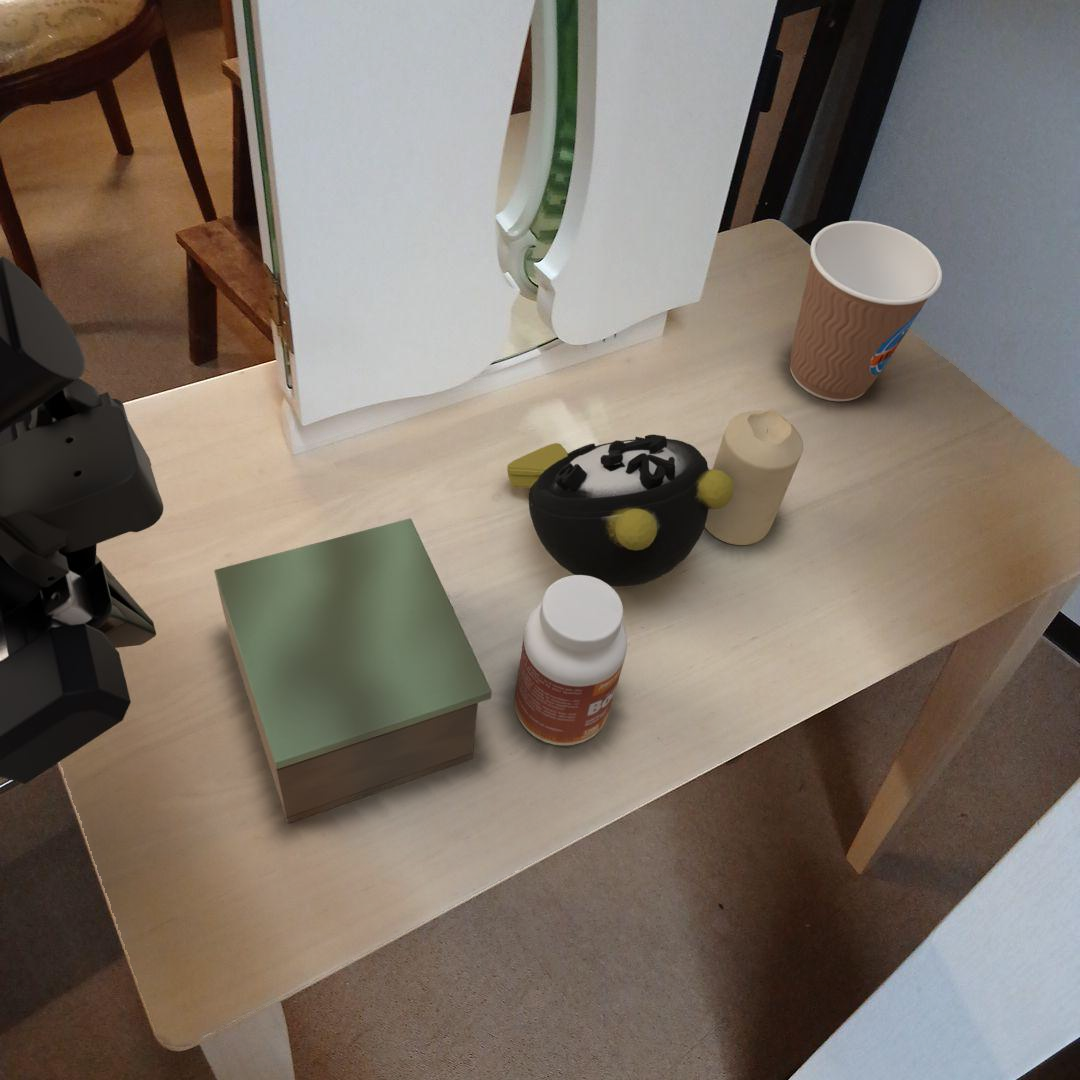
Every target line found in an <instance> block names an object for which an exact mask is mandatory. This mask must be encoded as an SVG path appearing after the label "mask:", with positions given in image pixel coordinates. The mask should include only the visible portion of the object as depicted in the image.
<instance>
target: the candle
mask: <svg viewBox="0 0 1080 1080" xmlns="http://www.w3.org/2000/svg"><path fill="white" fill-rule="evenodd" d="M719 444H720V445H719V447H718V450H717V453H716V457H715V458H714V459H715V460H714V462H713V465H712V467H711V469H716V470H721V471H723V472H725V473H726V474H727V475H728V476H729V477H730V478H731V480H732V482H733V487H734V491H733V495H732V499H731V500H730V501H729V502H728V504H727V505H725V506H723V507H721V508H719V509H709V510H708V515H707V519H706V523H705V527H704V529H705V530H706V531H708V533H709V534H711V535H712V536H713V537H715V538H716V539H718V540H720V541H722V542H724V543H727V544H729V545H736V546H748V545H754V544H756V543H758V542H760V541H762V540H763V539H764V538H765V537H766V536H767V534H769V532H770V530H771V528H772V526H773V524H774V521H775V519H776V517H777V514H778V512H779V510H780V507H781V505H782V503H783V500H784V497H785V495H786V493H787V490H788V488H789V486H790V483H791V481H792V479H793V477H794V474H795V471H796V469H797V467H798V464H799V462H800V460H801V458H802V454H803V452H804V441H803V438H802V436H801V434H800V432H799V431H798V429H797V428H796V427H795V426H794V425H793V424H792V423H791V422H790V421H789V420H788V419H786V418H785V417H783V415H781V413H780V412H779V411H778V410H776V409H768V410H750V411H745V412H742V413H739V414H736V415H735V416H734V417H732V418H731V419H730V420H729V421H728V423H727V424H726V426H725V429H724V433H723V436H722V438H721V441H720V443H719Z"/></svg>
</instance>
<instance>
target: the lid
mask: <svg viewBox="0 0 1080 1080" xmlns="http://www.w3.org/2000/svg"><path fill="white" fill-rule="evenodd" d="M214 577H215V581H216V580H217V581H216V584H217V583H218V585H217V587H218V586H219V589H220V593H221V596H222V599H223V602H224V605H225V608H226V612H227V615H228V618H229V621H230V624H231V627H232V631H233V634H234V637H235V640H236V643H237V646H238V650H239V653H240V656H241V659H242V662H243V665H244V669H245V672H246V675H247V678H248V681H249V684H250V687H251V691H252V694H253V697H254V700H255V703H256V706H257V710H258V713H259V716H260V719H261V722H262V725H263V729H264V732H265V735H266V738H267V741H268V744H269V748H270V751H271V754H272V757H273V760H274V763H275V767H276V768H277V769H279V768H282V767H285V766H289V765H292V764H295V763H298V762H301V761H304V760H307V759H310V758H313V757H316V756H319V755H322V754H325V753H328V752H331V751H334V750H337V749H340V748H343V747H346V746H349V745H352V744H355V743H358V742H361V741H364V740H367V739H370V738H373V737H376V736H379V735H382V734H385V733H388V732H391V731H394V730H397V729H400V728H403V727H406V726H409V725H412V724H415V723H419V722H422V721H425V720H428V719H431V718H434V717H437V716H440V715H443V714H446V713H449V712H452V711H455V710H458V709H461V708H464V707H467V706H470V705H473V704H476V703H478V704H479V703H482V702H486V701H488V700H491V698H492V692H493V691H492V689H491V687H490V685H489V682H488V681H487V678H486V675H485V674H484V671H483V670H482V667H481V665H480V663H479V661H478V658H477V657H476V654H475V653H474V651H473V650H474V649H473V648H472V646H471V644H470V642H469V640H468V637H467V636H466V633H465V631H464V629H463V627H462V624H461V623H460V620H459V618H458V616H457V614H456V611H455V609H454V607H453V605H452V603H451V601H450V598H449V597H448V595H447V592H446V590H445V588H444V586H443V584H442V582H441V579H440V577H439V575H438V573H437V570H436V569H435V567H434V564H433V563H432V560H431V558H430V555H429V554H428V552H427V549H426V547H425V545H424V543H423V541H422V539H421V537H420V534H419V532H418V530H417V528H416V526H415V524H414V522H413V520H412V518H410V517H409V518H406V519H402V520H398V521H393V522H391V523H386V524H383V525H379V526H376V527H372V528H368V529H364V530H360V531H357V532H353V533H348V534H345V535H341V536H338V537H337V536H336V537H334V538H330V539H327V540H323V541H319V542H315V543H311V544H307V545H303V546H300V547H295V548H292V549H288V550H285V551H282V552H277V553H273V554H269V555H266V556H261V557H259V558H255V559H254V558H253V559H250V560H246V561H244V562H238V563H236V564H231V565H228V566H225V567H221V568H216V569H214Z"/></svg>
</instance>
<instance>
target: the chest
mask: <svg viewBox="0 0 1080 1080" xmlns="http://www.w3.org/2000/svg"><path fill="white" fill-rule="evenodd" d="M215 581H216V585H217V589H218V593H219V598H220V602H221V606H222V611H223V615H224V620H225V624H226V627H227V628H226V629H227V632H228V637H229V641H230V645H231V647H232V650H233V654H234V657H235V661H236V664H237V667H238V671H239V673H240V676H241V680H242V682H243V686H244V689H245V693H246V696H247V698H248V701H249V705H250V708H251V711H252V714H253V715H252V716H253V718H254V721H255V725H256V728H257V731H258V734H259V737H260V741H261V743H262V747H263V750H264V753H265V757H266V759H267V762H268V763H267V764H268V766H269V769H270V772H271V776H272V779H273V783H274V785H275V788H276V791H277V795H278V797H279V801H280V804H281V807H282V810H283V814H284V817H285V820H286V823H287V824H290V823H293V822H296V821H299V820H302V819H305V818H307V817H310V816H312V815H316V814H319V813H322V812H324V811H327V810H330V809H332V808H337V807H339V806H341V805H344V804H347V803H350V802H353V801H356V800H359V799H361V798H364V797H367V796H370V795H373V794H376V793H378V792H382V791H384V790H387V789H389V788H393V787H395V786H398V785H401V784H404V783H408V782H410V781H412V780H416V779H419V778H421V777H424V776H427V775H430V774H433V773H435V772H438V771H442V770H445V769H447V768H450V767H453V766H455V765H459V764H461V763H464V762H466V761H470V760H472V759H473V756H474V744H475V737H476V726H477V716H478V707H479V703H476V704H473V705H470V706H467V707H464V708H461V709H458V710H455V711H452V712H449V713H446V714H443V715H440V716H437V717H434V718H431V719H428V720H425V721H422V722H419V723H415V724H412V725H409V726H406V727H403V728H400V729H397V730H394V731H391V732H388V733H385V734H382V735H379V736H376V737H373V738H370V739H367V740H364V741H361V742H358V743H355V744H352V745H349V746H346V747H343V748H340V749H337V750H334V751H331V752H328V753H325V754H322V755H319V756H316V757H313V758H310V759H307V760H304V761H301V762H298V763H295V764H292V765H289V766H285V767H282V768H279V769H277V768H276V767H275V763H274V760H273V757H272V754H271V751H270V748H269V744H268V741H267V738H266V735H265V732H264V729H263V725H262V722H261V719H260V716H259V713H258V710H257V706H256V703H255V700H254V697H253V694H252V691H251V687H250V684H249V681H248V678H247V675H246V672H245V669H244V665H243V662H242V659H241V656H240V653H239V650H238V646H237V643H236V640H235V637H234V634H233V631H232V627H231V624H230V621H229V618H228V615H227V612H226V608H225V605H224V602H223V599H222V596H221V593H220V589H219V586H218V583H217V580H216V579H215Z"/></svg>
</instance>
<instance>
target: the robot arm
mask: <svg viewBox="0 0 1080 1080" xmlns="http://www.w3.org/2000/svg"><path fill="white" fill-rule="evenodd" d="M85 363H86V361H85V356H84V353H83V350H82V348H81V344H80V342H79V341H78V338H77V336H76V335H75V333H74V331H73V330H72V328H71V326H70V325H69V323H68V321H67V320H66V319H65V317H64V315H63V314H62V313H61V311H60V309H58V307H57V306H56V305H55V303H54V302H53V301H52V300H51V299H50V298H49V296H47V294H46V293H45V292H44V291H43V290H42V289H41V288H40V287H39V286H38V284H37V283H36V282H35V281H34V280H33V279H32V278H31V277H30V276H29V275H28V274H26V273H25V272H24V271H23V270H22V269H21V268H19V266H17V265H16V264H15V263H13V262H12V261H11V260H10V259H8V258H7V257H6V256H1V257H0V778H3V779H6V780H10V781H13V782H17V783H19V784H24V785H26V784H28V783H29V782H31V781H33V780H34V779H35V778H38V776H40V775H42V774H43V773H44V772H46V771H48V770H49V769H50V768H53V766H55V765H57V764H58V763H60V762H61V761H63V760H65V759H66V758H68V757H69V756H71V755H72V754H74V753H75V752H77V751H78V750H80V749H81V748H83V747H84V746H86V745H87V744H89V743H91V742H92V741H93V740H95V739H96V738H98V737H100V736H101V735H102V734H104V733H106V732H107V731H110V730H111V729H112V728H113V727H115V726H117V725H118V724H119V723H121V722H122V721H124V719H125V717H126V714H127V712H128V709H129V707H130V705H131V703H132V701H131V697H130V693H129V688H128V684H127V679H126V676H125V671H124V668H123V667H124V666H123V663H122V659H121V654H120V652H119V651H118V650H117V649H119V648H126V647H136V646H142V645H144V644H146V643H147V642H148V641H149V642H150V640H152V639H153V638H155V637H156V636H157V632H156V627H155V624H154V623H155V622H154V620H152V618H150V616H149V615H148V613H146V611H144V609H143V608H142V607H141V605H139V604H138V602H137V601H136V600H135V599H134V598H133V597H132V595H131V594H130V593H129V592H128V591H127V590H126V589H125V587H124V586H123V585H122V583H120V582H119V581H118V579H117V578H116V577H115V576H114V574H112V572H111V571H110V570H109V569H108V567H107V566H106V565H105V564H104V563H103V561H102V560H101V558H100V557H99V556H98V555H97V547H98V546H97V545H98V544H100V543H103V542H105V541H106V542H107V541H108V540H111V539H113V538H117V537H119V536H121V535H125V534H127V533H139V532H142V531H145V530H147V529H149V528H151V527H152V526H154V525H156V523H157V522H159V520H160V519H161V518H162V516H163V513H164V502H163V499H162V496H161V494H160V492H159V491H160V490H159V489H158V485H157V481H156V478H155V474H154V471H153V468H152V462H151V459H150V457H149V454H148V453H147V452H146V450H145V448H144V446H143V444H142V443H141V441H140V439H139V438H138V436H137V434H136V432H135V431H134V429H133V427H132V425H131V423H130V422H129V419H128V416H127V413H126V408H125V405H124V403H123V401H122V400H120V399H118V398H112V397H111V395H110V393H109V392H106V391H105V392H104V393H101V394H100V393H99V391H98V390H97V388H96V387H94V386H93V385H92V384H90V383H88V382H86V381H84V380H83V379H81V377H82V376H83V375H84V373H85V370H86V367H85V365H86V364H85Z"/></svg>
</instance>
